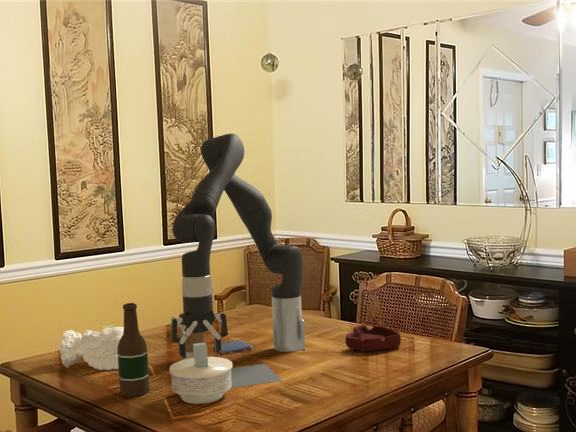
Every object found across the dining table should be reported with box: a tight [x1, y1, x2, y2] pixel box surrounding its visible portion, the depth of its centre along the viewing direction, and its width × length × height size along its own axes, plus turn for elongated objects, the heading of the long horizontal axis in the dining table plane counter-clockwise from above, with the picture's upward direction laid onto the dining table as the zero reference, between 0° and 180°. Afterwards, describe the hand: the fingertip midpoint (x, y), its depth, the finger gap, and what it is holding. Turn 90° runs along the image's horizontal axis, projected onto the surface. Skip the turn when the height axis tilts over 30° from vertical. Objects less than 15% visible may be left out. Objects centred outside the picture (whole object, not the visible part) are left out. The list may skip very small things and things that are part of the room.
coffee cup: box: [178, 313, 207, 360], centre depth 214 cm, size 8×8×15 cm
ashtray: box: [345, 324, 402, 353], centre depth 223 cm, size 18×16×5 cm
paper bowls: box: [171, 370, 232, 405], centre depth 181 cm, size 15×15×8 cm
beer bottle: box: [117, 302, 150, 398], centre depth 187 cm, size 8×8×24 cm
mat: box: [230, 363, 283, 389], centre depth 197 cm, size 17×17×1 cm
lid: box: [169, 342, 234, 379], centre depth 180 cm, size 16×16×6 cm
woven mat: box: [212, 339, 255, 355], centre depth 227 cm, size 10×11×2 cm
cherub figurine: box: [59, 326, 124, 371], centre depth 216 cm, size 13×12×20 cm
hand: (200, 355), depth 180 cm, fingers open, 8 cm apart
